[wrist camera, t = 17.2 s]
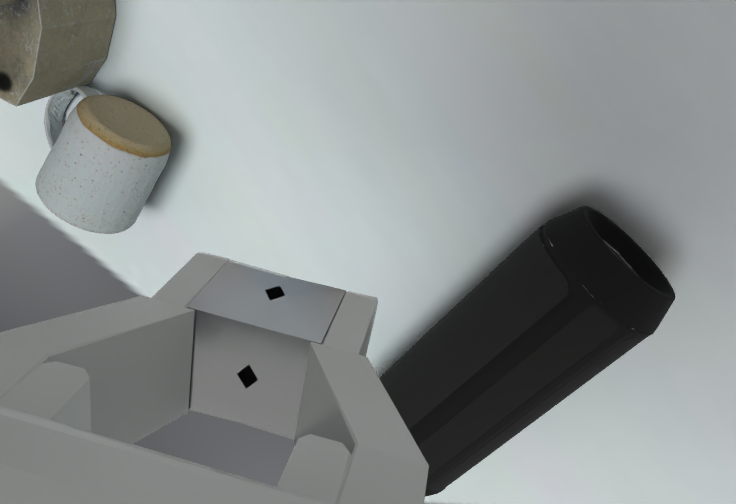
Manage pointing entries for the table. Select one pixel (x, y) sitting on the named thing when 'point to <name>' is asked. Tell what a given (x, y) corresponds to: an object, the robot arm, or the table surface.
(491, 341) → the portable speaker
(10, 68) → the padlock
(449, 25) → the table surface
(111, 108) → the ceramic mug
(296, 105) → the table surface
